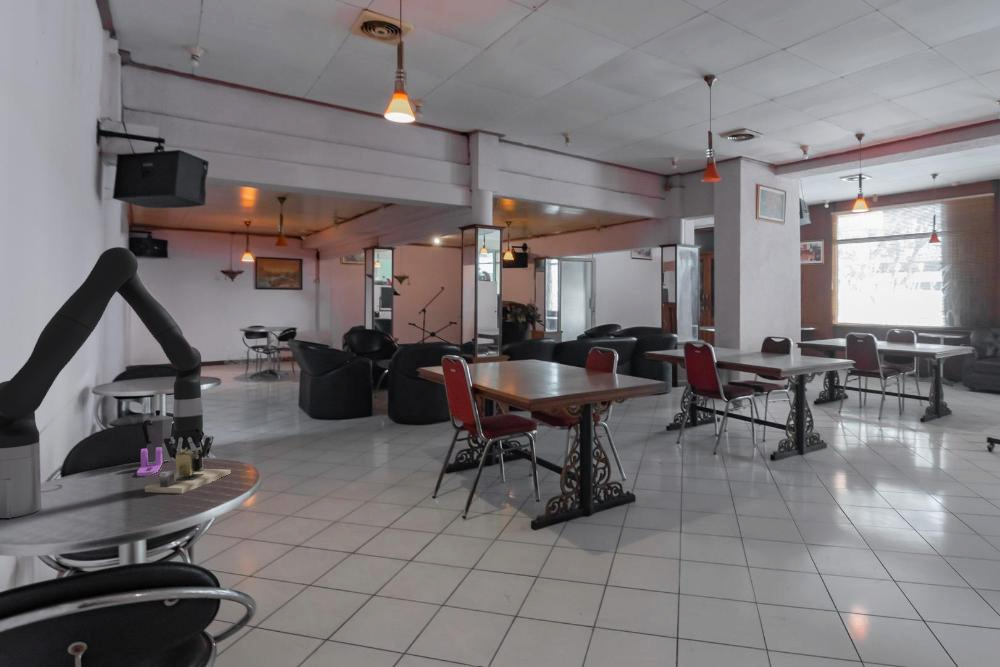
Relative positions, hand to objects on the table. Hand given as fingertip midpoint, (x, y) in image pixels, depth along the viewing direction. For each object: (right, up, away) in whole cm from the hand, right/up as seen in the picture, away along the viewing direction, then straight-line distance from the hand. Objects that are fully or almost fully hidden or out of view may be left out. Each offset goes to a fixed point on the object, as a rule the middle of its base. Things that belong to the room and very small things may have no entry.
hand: (189, 471), depth 163 cm
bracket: (-21, -4, +15) cm, 26 cm away
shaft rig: (0, -3, 0) cm, 3 cm away
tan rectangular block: (0, 0, 0) cm, 0 cm away
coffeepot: (-27, -4, +28) cm, 39 cm away
